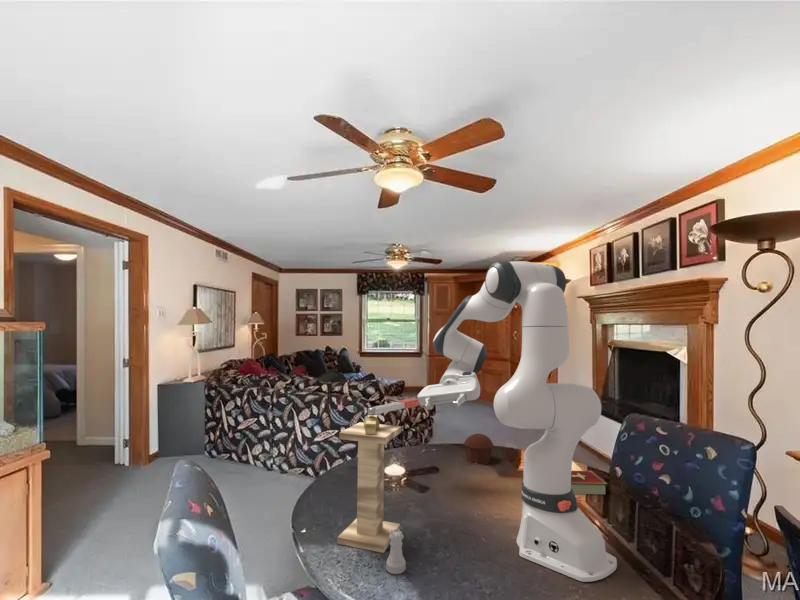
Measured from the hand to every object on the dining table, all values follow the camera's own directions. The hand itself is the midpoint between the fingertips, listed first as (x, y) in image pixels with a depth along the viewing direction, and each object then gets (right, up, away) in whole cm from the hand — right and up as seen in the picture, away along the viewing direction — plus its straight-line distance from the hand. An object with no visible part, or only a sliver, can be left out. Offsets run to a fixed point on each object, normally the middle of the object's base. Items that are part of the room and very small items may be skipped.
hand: (441, 406), depth 134 cm
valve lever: (-14, +3, -16) cm, 22 cm away
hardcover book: (+42, -30, +10) cm, 53 cm away
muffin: (+18, -30, +36) cm, 50 cm away
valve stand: (-20, -27, -24) cm, 41 cm away
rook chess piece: (-14, -26, -39) cm, 49 cm away
